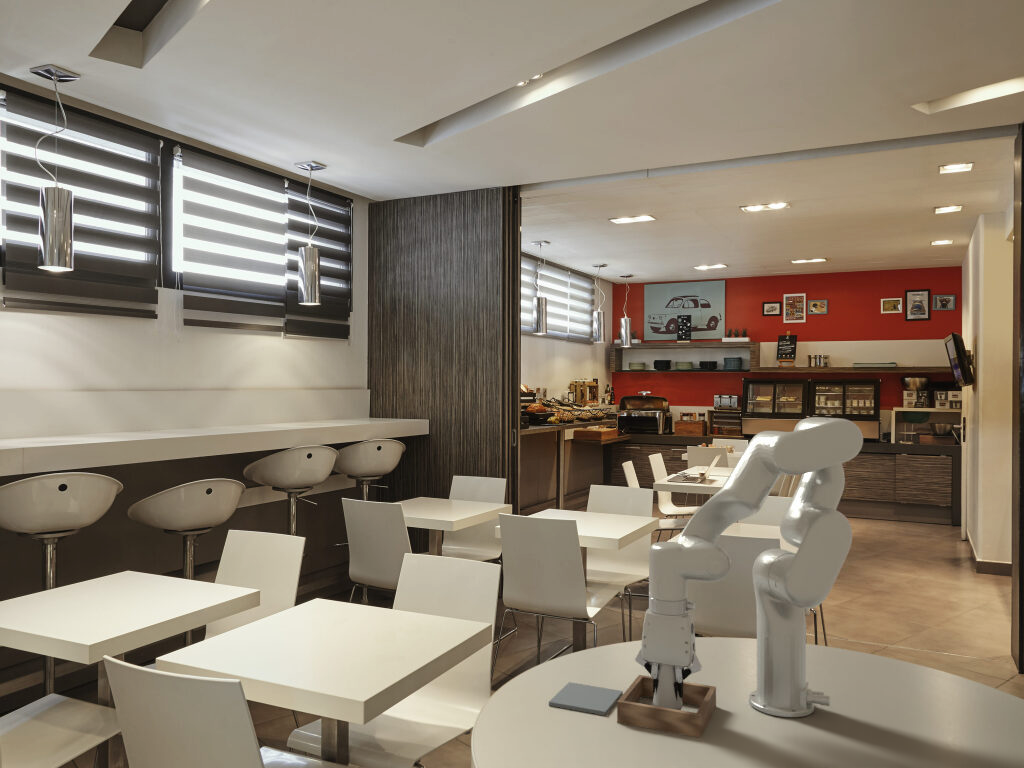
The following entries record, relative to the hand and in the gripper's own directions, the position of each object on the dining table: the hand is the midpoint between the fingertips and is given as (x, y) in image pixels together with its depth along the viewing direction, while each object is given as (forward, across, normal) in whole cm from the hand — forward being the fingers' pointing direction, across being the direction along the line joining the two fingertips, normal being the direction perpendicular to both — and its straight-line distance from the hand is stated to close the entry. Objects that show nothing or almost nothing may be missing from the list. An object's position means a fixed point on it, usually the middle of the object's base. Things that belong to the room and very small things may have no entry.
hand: (668, 698), depth 154 cm
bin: (+3, 0, 0) cm, 3 cm away
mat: (+3, +17, 0) cm, 17 cm away
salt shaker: (+3, 0, 0) cm, 3 cm away
